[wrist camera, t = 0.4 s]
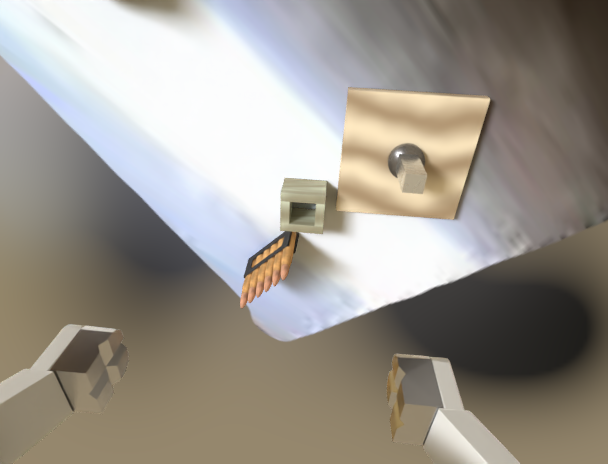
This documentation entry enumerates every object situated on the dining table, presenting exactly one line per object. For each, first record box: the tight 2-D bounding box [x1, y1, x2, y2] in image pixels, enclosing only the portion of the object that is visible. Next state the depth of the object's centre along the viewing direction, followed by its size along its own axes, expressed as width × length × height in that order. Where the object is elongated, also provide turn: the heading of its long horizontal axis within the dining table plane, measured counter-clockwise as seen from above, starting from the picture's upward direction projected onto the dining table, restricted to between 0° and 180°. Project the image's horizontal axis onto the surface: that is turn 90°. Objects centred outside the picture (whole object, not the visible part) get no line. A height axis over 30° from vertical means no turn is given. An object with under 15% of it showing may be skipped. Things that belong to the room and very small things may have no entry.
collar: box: [280, 178, 327, 234], centre depth 58 cm, size 6×6×5 cm
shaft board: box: [336, 87, 490, 219], centre depth 51 cm, size 18×18×9 cm
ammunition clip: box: [240, 231, 299, 308], centre depth 61 cm, size 11×2×12 cm, turn 133°
